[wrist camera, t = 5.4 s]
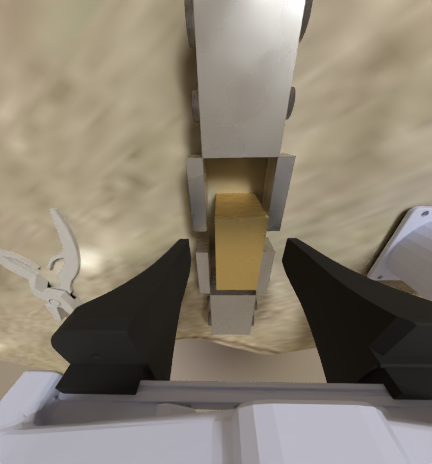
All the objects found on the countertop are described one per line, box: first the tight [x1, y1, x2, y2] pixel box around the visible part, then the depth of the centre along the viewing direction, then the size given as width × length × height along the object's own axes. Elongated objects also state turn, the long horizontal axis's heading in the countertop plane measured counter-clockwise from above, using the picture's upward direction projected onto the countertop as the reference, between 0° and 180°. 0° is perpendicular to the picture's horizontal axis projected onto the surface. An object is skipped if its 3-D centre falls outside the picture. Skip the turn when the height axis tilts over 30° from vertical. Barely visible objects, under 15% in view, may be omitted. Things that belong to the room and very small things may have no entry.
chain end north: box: [196, 237, 275, 335], centre depth 17 cm, size 6×12×2 cm, turn 1°
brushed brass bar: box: [215, 193, 269, 290], centre depth 12 cm, size 3×6×4 cm, turn 1°
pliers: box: [0, 208, 83, 321], centre depth 17 cm, size 10×2×15 cm
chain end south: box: [185, 0, 313, 231], centre depth 10 cm, size 6×12×2 cm, turn 1°
